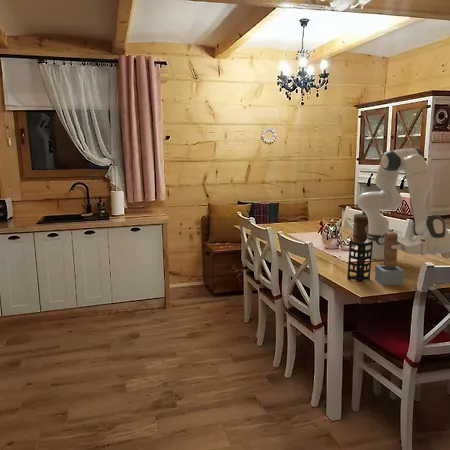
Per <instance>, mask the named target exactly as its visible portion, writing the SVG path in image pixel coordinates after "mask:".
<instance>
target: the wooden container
mask: <svg viewBox="0 0 450 450" xmlns="http://www.w3.org/2000/svg"><path fill="white" fill-rule="evenodd" d="M361 211H362V213H356V214H354V215H353V227H352V241H353V240H354V241H353V242H357V243H364V242H365V241H366V240H367V235H368V233H369V223H368V218H367V215H366V214H365V212H364V211H363V210H361Z"/></svg>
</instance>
